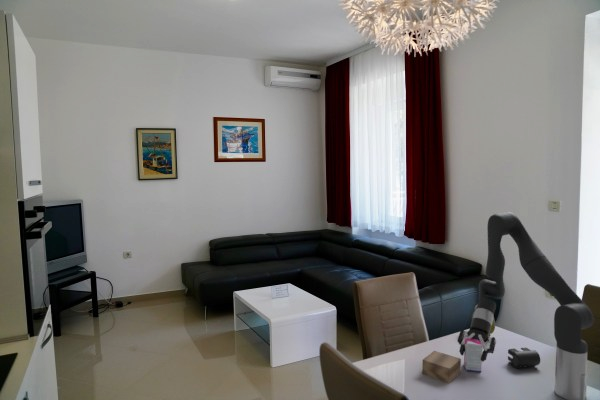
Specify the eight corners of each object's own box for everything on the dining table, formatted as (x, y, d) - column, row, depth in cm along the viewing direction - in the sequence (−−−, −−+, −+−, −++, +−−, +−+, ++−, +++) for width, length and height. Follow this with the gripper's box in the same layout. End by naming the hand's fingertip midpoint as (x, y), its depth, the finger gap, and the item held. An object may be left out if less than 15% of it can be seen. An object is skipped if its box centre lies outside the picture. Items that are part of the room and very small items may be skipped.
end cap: (518, 371, 164) (518, 355, 164) (506, 363, 171) (507, 347, 171) (540, 369, 166) (541, 353, 166) (527, 361, 173) (528, 345, 173)
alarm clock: (470, 332, 204) (471, 302, 203) (483, 331, 205) (483, 302, 204) (485, 341, 193) (486, 310, 192) (498, 340, 194) (499, 309, 193)
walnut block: (460, 373, 163) (460, 358, 163) (449, 383, 155) (449, 368, 155) (434, 364, 171) (434, 350, 170) (422, 374, 163) (422, 359, 162)
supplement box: (481, 372, 163) (482, 344, 162) (466, 371, 164) (466, 343, 164) (478, 365, 169) (479, 338, 168) (463, 364, 170) (464, 337, 169)
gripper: (462, 313, 176) (451, 348, 168) (498, 321, 166) (488, 358, 158) (466, 322, 180) (456, 356, 172) (501, 330, 170) (492, 367, 163)
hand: (471, 357), depth 165 cm, fingers closed on supplement box, 7 cm apart
